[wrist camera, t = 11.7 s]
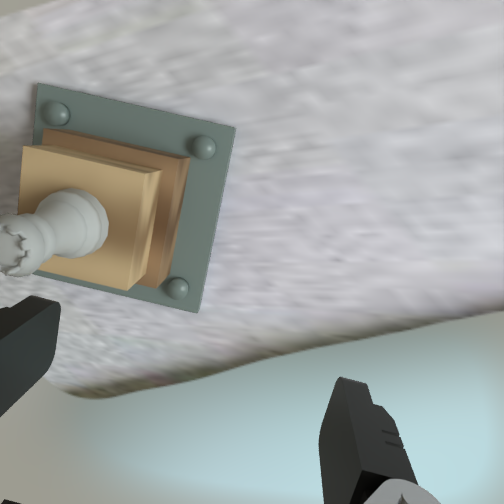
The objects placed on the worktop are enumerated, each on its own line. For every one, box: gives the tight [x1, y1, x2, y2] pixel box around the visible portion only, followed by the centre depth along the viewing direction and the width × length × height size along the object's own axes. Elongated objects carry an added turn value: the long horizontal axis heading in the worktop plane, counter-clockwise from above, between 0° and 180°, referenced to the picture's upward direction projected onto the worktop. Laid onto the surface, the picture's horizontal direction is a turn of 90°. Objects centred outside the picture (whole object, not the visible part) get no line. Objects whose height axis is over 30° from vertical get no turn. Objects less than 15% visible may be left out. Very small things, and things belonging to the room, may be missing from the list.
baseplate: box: [32, 83, 236, 313], centre depth 36 cm, size 16×16×2 cm
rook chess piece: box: [0, 188, 109, 277], centre depth 25 cm, size 4×4×8 cm
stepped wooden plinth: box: [17, 128, 191, 291], centre depth 33 cm, size 10×10×8 cm
